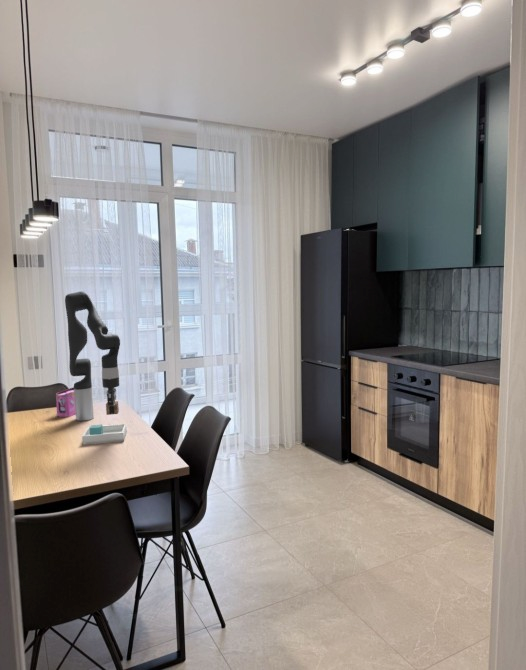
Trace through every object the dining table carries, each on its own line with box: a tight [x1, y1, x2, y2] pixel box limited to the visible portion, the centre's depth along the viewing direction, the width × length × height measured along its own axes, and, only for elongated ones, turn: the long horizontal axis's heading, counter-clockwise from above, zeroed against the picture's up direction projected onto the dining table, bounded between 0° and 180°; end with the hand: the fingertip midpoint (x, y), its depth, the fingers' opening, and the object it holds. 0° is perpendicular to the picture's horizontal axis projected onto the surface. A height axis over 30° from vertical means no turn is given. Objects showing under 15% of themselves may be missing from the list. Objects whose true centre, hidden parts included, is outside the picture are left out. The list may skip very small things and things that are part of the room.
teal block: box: [89, 424, 103, 435], centre depth 222 cm, size 5×5×5 cm
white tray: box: [81, 423, 128, 446], centre depth 223 cm, size 16×18×4 cm
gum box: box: [55, 386, 76, 418], centre depth 275 cm, size 24×8×14 cm, turn 169°
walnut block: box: [105, 400, 120, 416], centre depth 222 cm, size 5×5×5 cm
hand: (112, 412), depth 222 cm, fingers closed on walnut block, 5 cm apart
